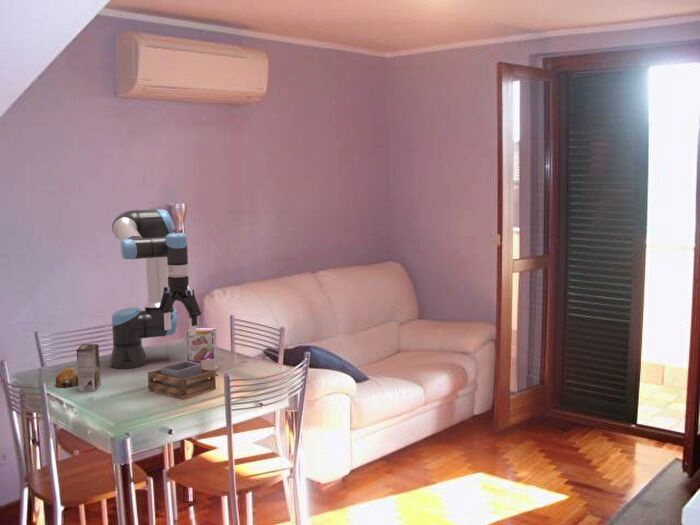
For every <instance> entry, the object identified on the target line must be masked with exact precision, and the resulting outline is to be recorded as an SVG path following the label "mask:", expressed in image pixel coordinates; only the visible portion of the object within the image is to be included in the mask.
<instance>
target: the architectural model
mask: <svg viewBox="0 0 700 525" xmlns="http://www.w3.org/2000/svg"><path fill="white" fill-rule="evenodd" d="M201 364H202V368H205V369H209V370H215V371H216V369H219V366H218V365H217V366H215V359H209V358H208V359H207V360H201ZM215 377H216V373H215Z"/></svg>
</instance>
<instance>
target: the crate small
mask: <svg viewBox="0 0 700 525" xmlns="http://www.w3.org/2000/svg"><path fill="white" fill-rule="evenodd" d="M160 369H161V375H164V376H169V377H173V378H178V379H187V378H190V377H193V376H197V375H200V374H202V364H198V363H193V362H188V360H184V361H180V362H177V363H174V364H169V365H166V366H162V367H160ZM161 384H162V385H167V386H171V387H175V388H180V389H181V386H180V385H176V384H171V383H167V382H163V381H161ZM199 384H202V380H201V381H198V382H195V383H192V384H189V385H186V388H190V387H193V386H196V385H199Z"/></svg>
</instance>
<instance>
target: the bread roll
mask: <svg viewBox="0 0 700 525" xmlns="http://www.w3.org/2000/svg"><path fill="white" fill-rule="evenodd" d="M55 385H56V387H58V386H59V388H73V387H77V386H79V384H78V369H76V368H72V367H70V368H69V367H68V368H64V369H62V370H61V371H60V372H59V373H57V375H56V378H55ZM72 386H73V387H72Z"/></svg>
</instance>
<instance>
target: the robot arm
mask: <svg viewBox="0 0 700 525" xmlns="http://www.w3.org/2000/svg"><path fill="white" fill-rule="evenodd" d="M173 228H174V227H173V223H172V219H171V216H170V213H169V212H168V210H166V209H158V208H155V209H140V210H139V209H138V210H137V209H136V210H131V209H130V210H127V211H124V212H122V213H121V214H119V215H118V216H116V217H115V218H114V220H113V222H112V224H111V232H112V233H113V235H114V236H115V237H116V239H118V240H120V241H121V242H120V254H121V257H122V259H123V260H137V259H138V260H139V259H145V267H146V268H145V271H146V286H147V303H146V304H145V305H144V310H141V308H139V307H127V308H123V309H120V310H116V311H115V312H114V313H113V314H112V316H111V326H112V330H111V331H112V346H113V347H112V351H111V354H110V359H109V367H111V368H113V369H134V368H138V367H139V368H140V367H142V366H145V365H146V364H148V357H147V355H146V353H145V350H144V347H143V344H142V343H143V342H142V340H143V339H147V338H148V339H150V338H160V337H163V338H164V337H167V336H168V337H169V336H172V335H174V334H175V333H176V331H177V326H178V310H177V308H176V307H173V305H174V303H175V302H176V301H178V302H180V303H181V304H182V305H183V306H184V308H185V309H186V311H187V313H188V314H189V317H188V324H189V325H188V326H189V328H188V329H189V331H190V335H193V334H197V333H196V328H197V326H198V316H201V315H202V311H201V309H200V307H199V304H198V302H197V299H196V297H195V296H196V295H195V291H194V289H189V290H188V286H189V285H190V280H189V279H190V276H189V260H188V258H189V256H188V237H187V235H186V233H179V232H178V233H175V232H173V231H174V230H173Z"/></svg>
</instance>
